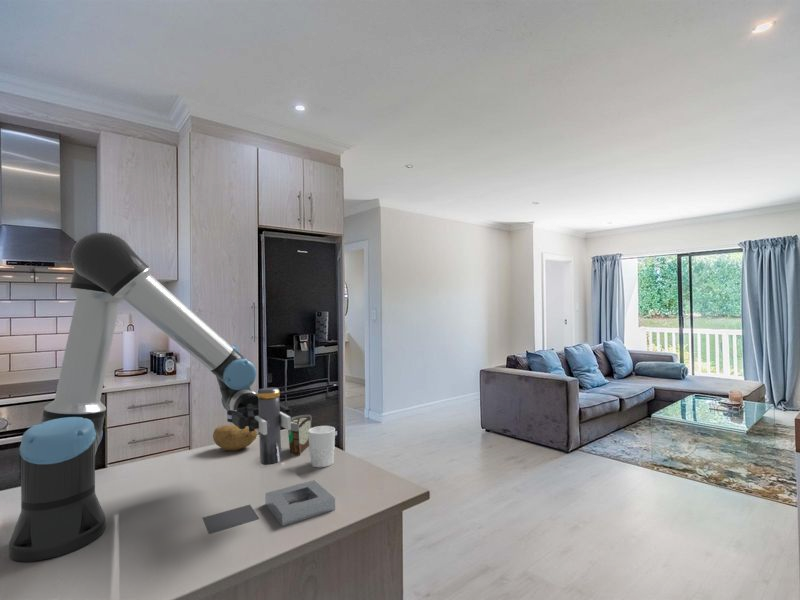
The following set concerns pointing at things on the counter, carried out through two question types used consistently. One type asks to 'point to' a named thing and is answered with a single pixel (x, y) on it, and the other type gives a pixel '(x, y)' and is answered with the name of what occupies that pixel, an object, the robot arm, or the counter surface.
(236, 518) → the mount
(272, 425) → the cylinder
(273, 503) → the socket
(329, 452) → the white cup
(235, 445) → the potato
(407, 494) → the counter surface
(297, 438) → the food container
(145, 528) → the counter surface
